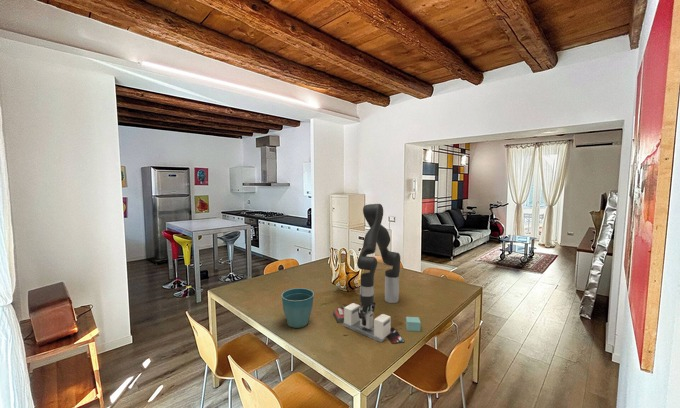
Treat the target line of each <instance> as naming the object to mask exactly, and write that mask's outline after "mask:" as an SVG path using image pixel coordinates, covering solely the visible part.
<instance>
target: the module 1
mask: <svg viewBox="0 0 680 408" xmlns="http://www.w3.org/2000/svg"><path fill="white" fill-rule="evenodd" d="M360 308H361V305H360V304H357V303H354V302H352V303H350V304H348V305H347V306H344V323H346V324H349V325H354V324H355V323H357V322H358V321H359V320H360V318H359V315H358V309H360Z"/></svg>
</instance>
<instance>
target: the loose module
mask: <svg viewBox="0 0 680 408" xmlns="http://www.w3.org/2000/svg"><path fill="white" fill-rule="evenodd" d="M364 313H366V312H364ZM363 315H364V314H363ZM364 316H365V315H364ZM373 325H374V313H373V312H372V311H368V314H367V315H366V326H364V325H362V319H360V326H363V327H365V328H367V329H370V328H371V327H373Z"/></svg>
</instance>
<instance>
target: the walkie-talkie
mask: <svg viewBox="0 0 680 408" xmlns="http://www.w3.org/2000/svg"><path fill="white" fill-rule="evenodd" d="M340 306H341V307H340V308H337V309H334V310H333V316H334V318H335V320H336V322H337V324H343V323H344V307H345V306H344V305H343V304H341V305H340Z"/></svg>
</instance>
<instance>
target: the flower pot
mask: <svg viewBox="0 0 680 408" xmlns="http://www.w3.org/2000/svg"><path fill="white" fill-rule="evenodd" d="M314 295H315V293H314V291H313V290H311V289H308V288H302V287H301V288H300V287H296V288H290V289H287V290H285V291H283V292H282V293H281V302H282V309H283V313H284V316H285V319H286V325H287V326H288V327H291V328H295V329H296V328H298V329H299V328H303V327H306V326H307V325H308V324H309V320H310V317H311V313H312V310H313V304H314Z"/></svg>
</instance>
